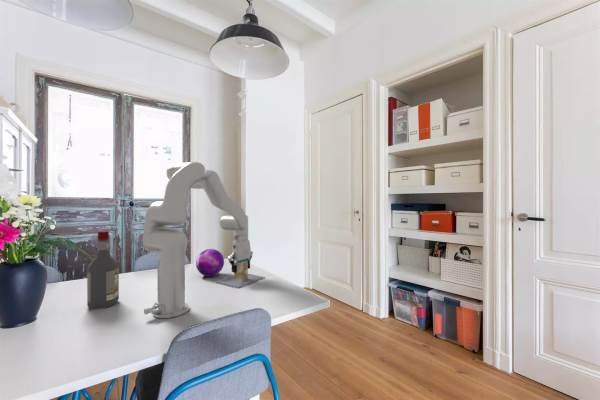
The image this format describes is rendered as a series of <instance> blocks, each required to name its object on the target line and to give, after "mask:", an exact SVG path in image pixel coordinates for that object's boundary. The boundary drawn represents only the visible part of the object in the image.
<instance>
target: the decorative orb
mask: <svg viewBox="0 0 600 400" xmlns="http://www.w3.org/2000/svg"><path fill="white" fill-rule="evenodd" d="M224 265H225V259H224V255H223V253H221V252H220V251H219V250H218V249H214V248H209V249H205V250H203V251H202V252H200V253H199V254H198V256H197V258H196V261H195V266H196V269H197V271H198V273H200V274H201V275H203V276H205V277H213V276H216V275H218V274H220V272H221V271H222V270H223V267H224Z"/></svg>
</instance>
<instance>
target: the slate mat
mask: <svg viewBox="0 0 600 400" xmlns="http://www.w3.org/2000/svg"><path fill="white" fill-rule="evenodd" d="M263 278H264V279H266V277H265V276H263V275H257V274H252V273H248V279H246V280H243V281H237V280H234V275H232V276H230V277H226V278H222V279H220V280H217V281H215V283H216V284H219V285H223V286H226V287H231V288H235V289H241V288H243V287H246V286H248V285H251V284H254V283H256V282H259V281H261V280H264V279H263ZM258 280H259V281H258ZM253 282H254V283H253Z"/></svg>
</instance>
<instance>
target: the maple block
mask: <svg viewBox="0 0 600 400" xmlns="http://www.w3.org/2000/svg"><path fill="white" fill-rule="evenodd" d="M234 262H235V261H234ZM236 265H237V273H234V272H233V276H234V280H237V281H243V280H246V279H248V274H249V269H248V260H242V261H237V263H236Z"/></svg>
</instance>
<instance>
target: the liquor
mask: <svg viewBox="0 0 600 400" xmlns="http://www.w3.org/2000/svg"><path fill="white" fill-rule="evenodd" d="M109 233H110V231H109V230H108V231H107V230H100V231H97V241H98V242H97V245H98V246H97V256H96V257H94V259H93V260H92V261H91V262H90V263H88V266H87V268H86V273H87V275H86V278H87V279H86V282H87V285H86V286H87V288H86V289H87V293H86V295H87V297H86V298H87V301H86V303H87V308H89V309H91V310H99V309H107V308H110V307H114V305H115V304H117V303H118V301H119V299H120V298H119V297H120V295H119V293H120V287H119V285H120V281H119V280H120V278H119V277H120V276H119V275H120V273H119V272H120V271H119V269H120V268H119V267H120V266H119V261H118V260H117V259H116V258H114V257H113V256H112V255H111V254H110V251H109V239H110V237H109V235H110V234H109Z"/></svg>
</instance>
